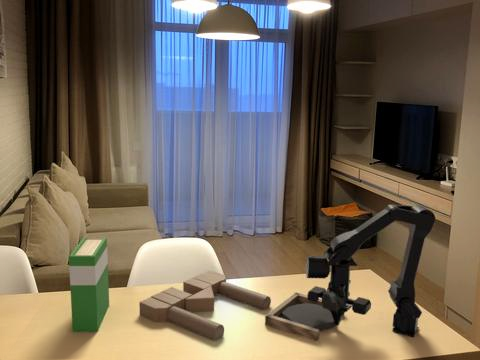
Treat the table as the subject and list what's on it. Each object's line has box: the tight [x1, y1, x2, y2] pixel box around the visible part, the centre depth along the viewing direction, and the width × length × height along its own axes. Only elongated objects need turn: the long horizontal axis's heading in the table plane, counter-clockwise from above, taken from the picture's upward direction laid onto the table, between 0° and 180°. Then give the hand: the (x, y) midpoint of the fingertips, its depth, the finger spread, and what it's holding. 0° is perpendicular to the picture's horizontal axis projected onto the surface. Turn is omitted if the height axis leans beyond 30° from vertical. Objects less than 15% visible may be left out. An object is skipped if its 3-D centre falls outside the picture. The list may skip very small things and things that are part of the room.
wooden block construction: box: [138, 269, 272, 341], centre depth 166 cm, size 35×6×29 cm
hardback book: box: [68, 236, 110, 333], centre depth 157 cm, size 18×7×24 cm, turn 3°
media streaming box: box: [281, 303, 336, 333], centre depth 160 cm, size 15×15×3 cm
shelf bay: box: [264, 292, 331, 342], centre depth 161 cm, size 18×21×3 cm
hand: (337, 325), depth 155 cm, fingers closed
